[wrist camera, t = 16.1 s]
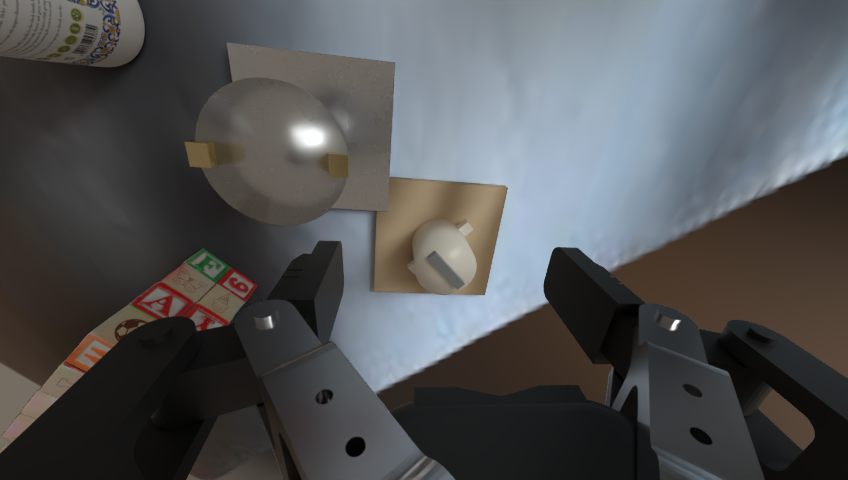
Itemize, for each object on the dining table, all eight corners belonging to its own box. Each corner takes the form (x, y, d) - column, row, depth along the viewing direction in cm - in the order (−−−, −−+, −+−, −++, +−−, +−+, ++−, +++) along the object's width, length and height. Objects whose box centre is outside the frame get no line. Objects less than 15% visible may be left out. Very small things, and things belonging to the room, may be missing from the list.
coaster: (504, 185, 29) (507, 187, 28) (482, 290, 34) (484, 294, 33) (378, 175, 28) (377, 178, 27) (374, 287, 33) (373, 291, 32)
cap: (482, 238, 30) (499, 266, 25) (426, 280, 32) (432, 314, 27) (451, 201, 28) (463, 223, 23) (393, 247, 30) (393, 277, 25)
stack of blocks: (147, 392, 36) (37, 522, 25) (91, 365, 34) (-58, 496, 23) (259, 284, 31) (185, 385, 20) (203, 245, 29) (85, 335, 18)
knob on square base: (394, 64, 24) (395, 37, 14) (387, 208, 29) (383, 268, 19) (233, 44, 23) (98, -2, 12) (254, 199, 28) (170, 259, 17)
